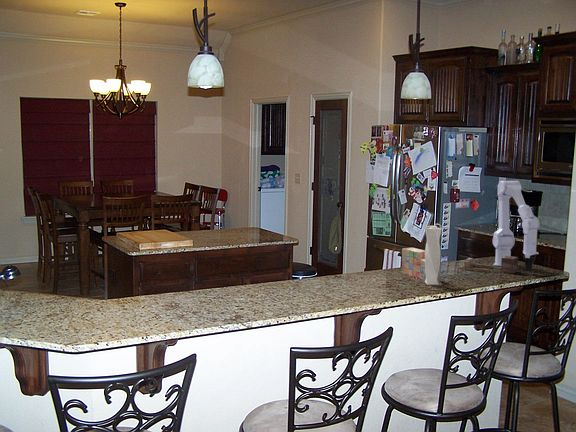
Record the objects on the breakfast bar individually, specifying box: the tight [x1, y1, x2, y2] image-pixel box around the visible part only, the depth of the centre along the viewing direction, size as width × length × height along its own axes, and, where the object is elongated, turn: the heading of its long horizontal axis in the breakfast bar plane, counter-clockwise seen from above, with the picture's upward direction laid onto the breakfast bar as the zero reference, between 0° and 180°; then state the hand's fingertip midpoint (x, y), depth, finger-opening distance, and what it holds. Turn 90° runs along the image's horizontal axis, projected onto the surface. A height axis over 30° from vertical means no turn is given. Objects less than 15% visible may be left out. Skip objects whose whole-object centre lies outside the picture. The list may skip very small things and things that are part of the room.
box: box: [500, 256, 519, 274], centre depth 317 cm, size 6×6×7 cm
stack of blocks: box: [401, 247, 426, 281], centre depth 305 cm, size 21×6×12 cm, turn 24°
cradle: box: [463, 257, 494, 273], centre depth 324 cm, size 12×12×5 cm
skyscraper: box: [423, 223, 443, 286], centre depth 289 cm, size 8×8×28 cm
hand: (528, 270), depth 313 cm, fingers closed
